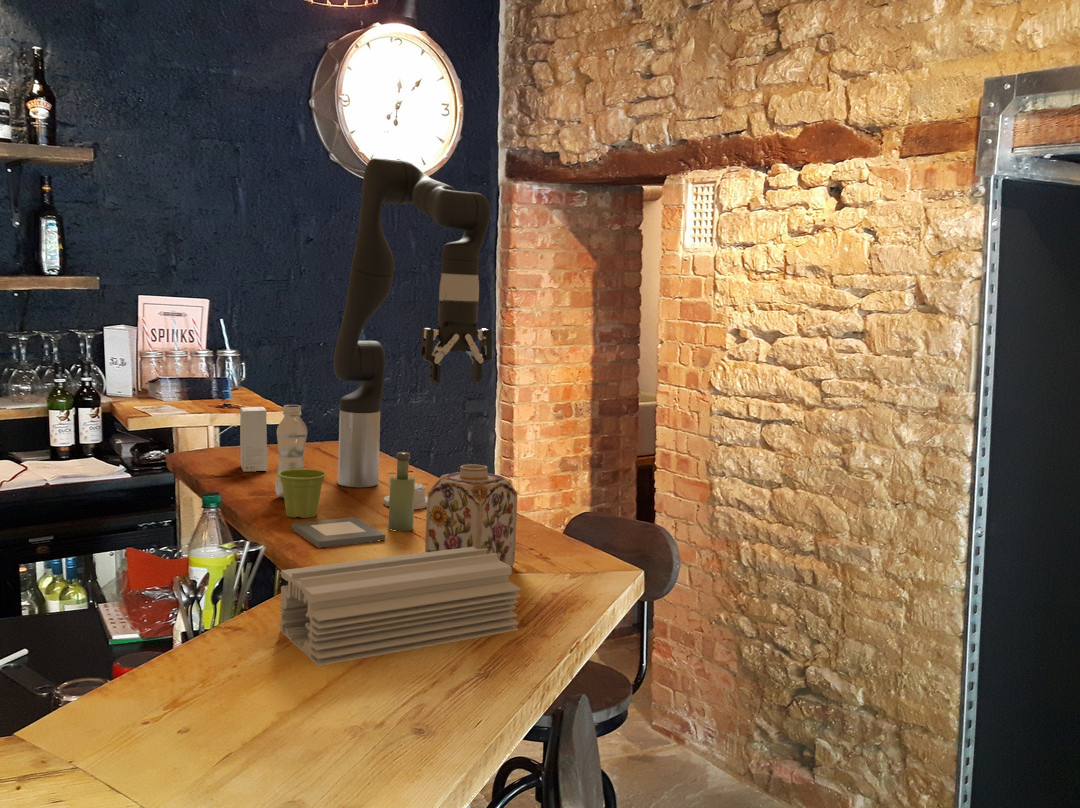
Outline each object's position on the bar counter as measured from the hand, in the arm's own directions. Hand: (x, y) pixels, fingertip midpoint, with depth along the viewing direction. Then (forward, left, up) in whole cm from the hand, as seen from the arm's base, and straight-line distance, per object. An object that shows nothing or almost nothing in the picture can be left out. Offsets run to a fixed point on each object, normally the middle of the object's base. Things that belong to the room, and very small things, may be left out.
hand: (455, 382), depth 201 cm
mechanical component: (-23, +2, -30) cm, 38 cm away
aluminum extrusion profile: (+46, -32, -30) cm, 64 cm away
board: (-5, -21, -29) cm, 36 cm away
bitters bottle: (-5, -8, -29) cm, 31 cm away
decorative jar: (+23, -8, -30) cm, 38 cm away
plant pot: (-22, -22, -30) cm, 43 cm away
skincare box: (-69, -17, -30) cm, 77 cm away
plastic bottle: (-37, -19, -30) cm, 51 cm away
